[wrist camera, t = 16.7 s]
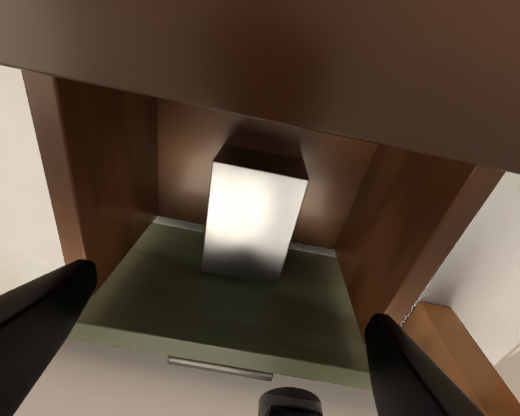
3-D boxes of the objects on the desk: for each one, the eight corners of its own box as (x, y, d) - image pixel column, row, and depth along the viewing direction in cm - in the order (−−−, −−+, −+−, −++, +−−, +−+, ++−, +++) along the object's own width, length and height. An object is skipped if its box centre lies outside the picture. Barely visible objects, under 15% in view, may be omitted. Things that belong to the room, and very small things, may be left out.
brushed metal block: (277, 253, 16) (277, 285, 13) (211, 241, 16) (200, 271, 13) (303, 159, 13) (309, 180, 11) (223, 143, 13) (212, 160, 10)
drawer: (318, 320, 20) (338, 440, 14) (143, 288, 19) (77, 398, 13) (447, 38, 11) (679, 2, 5) (131, -35, 11) (-94, -187, 4)
